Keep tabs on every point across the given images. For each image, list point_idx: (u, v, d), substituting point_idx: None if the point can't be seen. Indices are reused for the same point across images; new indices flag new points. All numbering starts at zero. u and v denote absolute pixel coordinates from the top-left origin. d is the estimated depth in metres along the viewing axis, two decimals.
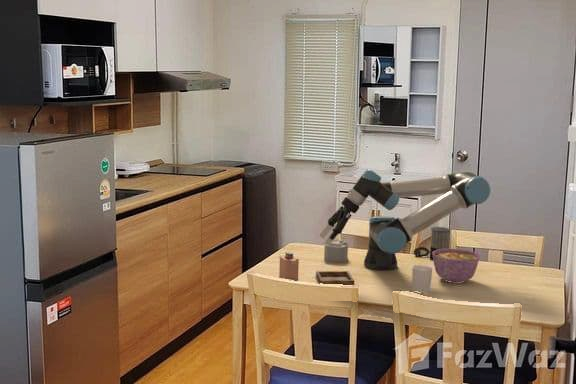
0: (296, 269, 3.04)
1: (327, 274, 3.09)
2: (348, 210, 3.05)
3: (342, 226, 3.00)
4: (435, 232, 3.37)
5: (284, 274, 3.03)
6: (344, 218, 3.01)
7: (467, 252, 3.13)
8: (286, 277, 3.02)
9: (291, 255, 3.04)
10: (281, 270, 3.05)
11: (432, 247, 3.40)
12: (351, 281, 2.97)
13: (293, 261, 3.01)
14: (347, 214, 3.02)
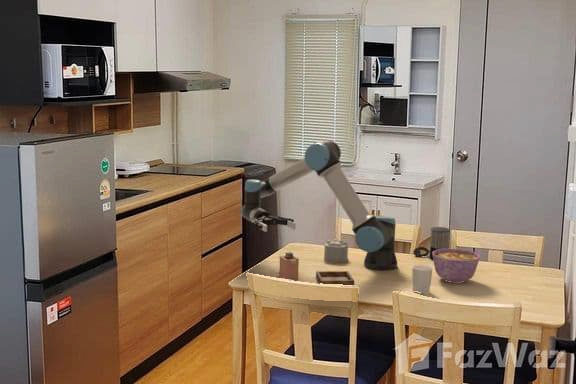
0: (296, 269, 3.04)
1: (327, 274, 3.09)
2: None
3: (252, 222, 3.15)
4: (435, 232, 3.37)
5: (284, 274, 3.03)
6: None
7: (467, 252, 3.13)
8: (286, 277, 3.02)
9: (291, 255, 3.04)
10: (281, 270, 3.05)
11: (432, 247, 3.40)
12: (351, 281, 2.97)
13: (293, 261, 3.01)
14: None
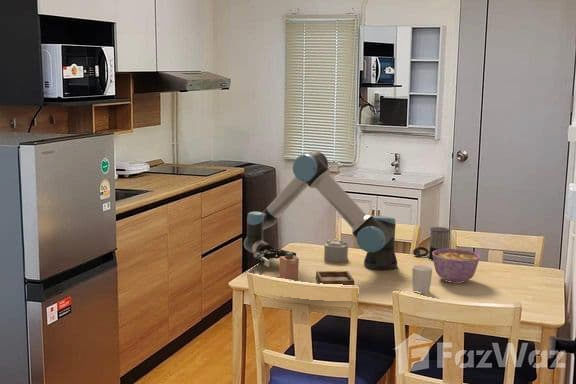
0: (296, 269, 3.04)
1: (327, 274, 3.09)
2: None
3: None
4: (434, 232, 3.37)
5: (284, 274, 3.03)
6: None
7: (467, 252, 3.13)
8: (286, 277, 3.02)
9: (291, 255, 3.04)
10: (281, 270, 3.05)
11: (431, 247, 3.40)
12: (351, 281, 2.97)
13: (293, 261, 3.01)
14: (254, 255, 3.20)
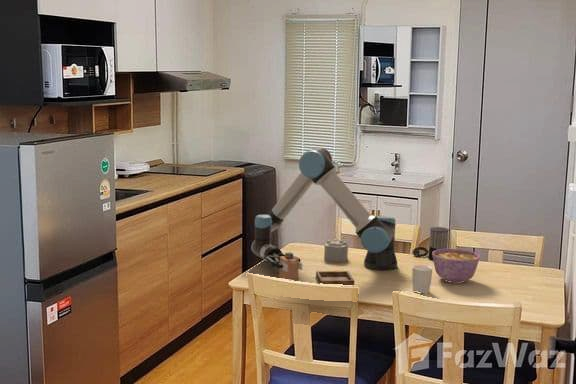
0: (296, 269, 3.04)
1: (327, 274, 3.09)
2: None
3: (269, 262, 3.07)
4: (434, 232, 3.37)
5: (284, 274, 3.03)
6: (267, 262, 3.10)
7: (467, 252, 3.13)
8: (286, 277, 3.02)
9: (291, 255, 3.04)
10: (281, 270, 3.05)
11: (431, 247, 3.40)
12: (351, 281, 2.97)
13: (293, 261, 3.01)
14: (264, 260, 3.12)
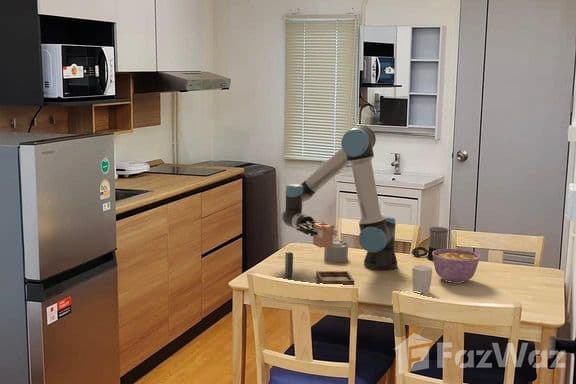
0: (330, 236, 2.99)
1: (327, 274, 3.09)
2: None
3: (303, 229, 3.03)
4: (433, 232, 3.37)
5: (318, 240, 2.99)
6: (300, 229, 3.06)
7: (467, 252, 3.13)
8: (321, 244, 2.98)
9: (291, 255, 3.04)
10: (315, 237, 3.01)
11: (430, 247, 3.40)
12: (351, 281, 2.97)
13: (328, 227, 2.96)
14: (297, 228, 3.08)
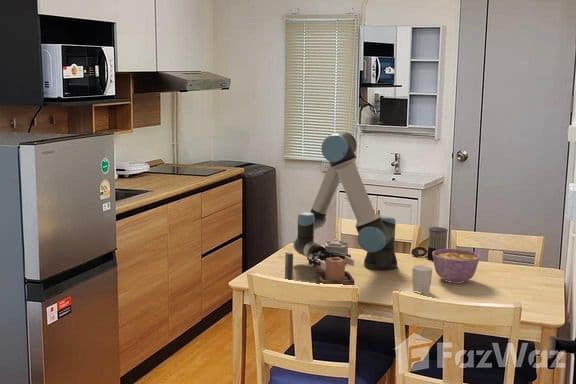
0: (342, 271, 3.01)
1: None
2: None
3: None
4: (432, 232, 3.37)
5: (330, 275, 3.00)
6: (308, 259, 3.08)
7: (467, 252, 3.13)
8: (333, 279, 2.99)
9: (291, 255, 3.04)
10: (327, 272, 3.02)
11: (429, 247, 3.40)
12: (351, 281, 2.97)
13: (340, 263, 2.98)
14: (307, 257, 3.10)
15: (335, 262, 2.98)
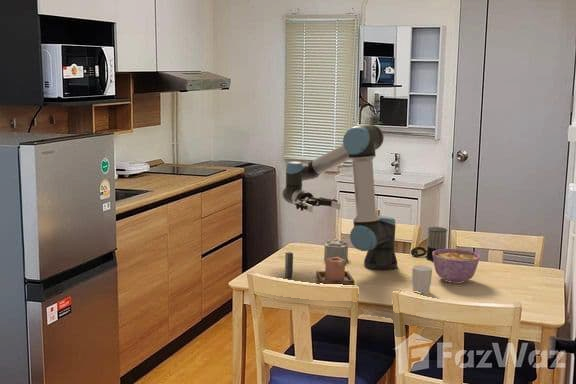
0: (342, 271, 3.01)
1: None
2: None
3: (296, 203, 3.12)
4: (432, 232, 3.37)
5: (330, 275, 3.00)
6: None
7: (467, 252, 3.13)
8: (333, 279, 2.99)
9: (291, 255, 3.04)
10: (327, 272, 3.02)
11: (429, 247, 3.40)
12: (351, 281, 2.97)
13: (340, 263, 2.98)
14: (295, 203, 3.18)
15: (335, 262, 2.98)
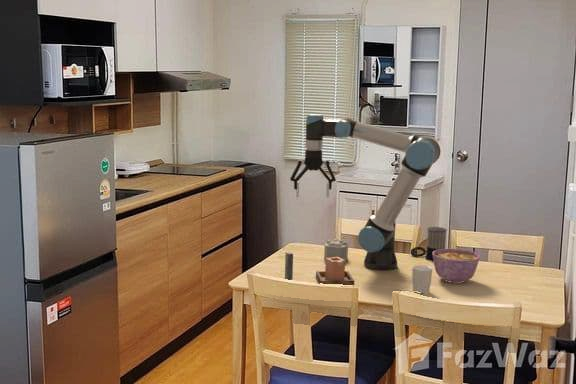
0: (342, 271, 3.01)
1: None
2: (305, 158, 3.18)
3: (293, 173, 3.18)
4: (431, 232, 3.37)
5: (330, 275, 3.00)
6: (296, 166, 3.19)
7: (467, 252, 3.13)
8: (333, 279, 2.99)
9: (291, 255, 3.04)
10: (327, 272, 3.02)
11: (428, 247, 3.40)
12: (351, 281, 2.97)
13: (340, 263, 2.98)
14: (298, 161, 3.19)
15: (335, 262, 2.98)
